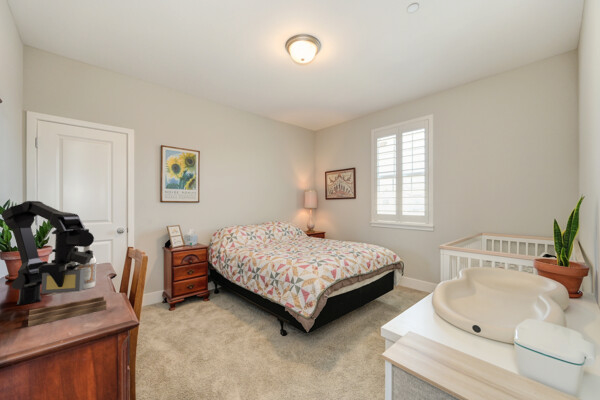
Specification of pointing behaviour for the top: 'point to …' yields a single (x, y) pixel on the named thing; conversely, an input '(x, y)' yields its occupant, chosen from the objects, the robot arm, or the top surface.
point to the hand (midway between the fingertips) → (63, 285)
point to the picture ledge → (65, 310)
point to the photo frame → (71, 282)
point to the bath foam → (89, 270)
